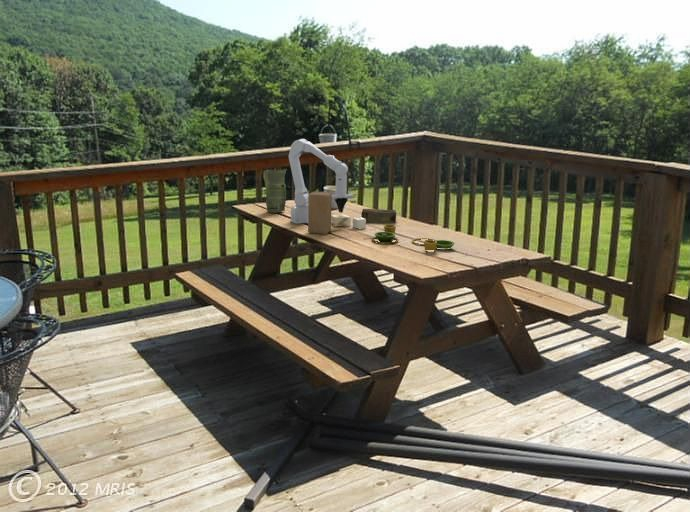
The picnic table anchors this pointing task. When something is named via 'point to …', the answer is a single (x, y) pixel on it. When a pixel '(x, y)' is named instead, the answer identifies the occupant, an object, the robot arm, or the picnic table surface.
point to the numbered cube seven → (359, 222)
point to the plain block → (341, 220)
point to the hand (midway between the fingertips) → (340, 212)
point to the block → (319, 212)
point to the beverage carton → (379, 215)
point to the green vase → (275, 190)
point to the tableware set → (428, 244)
